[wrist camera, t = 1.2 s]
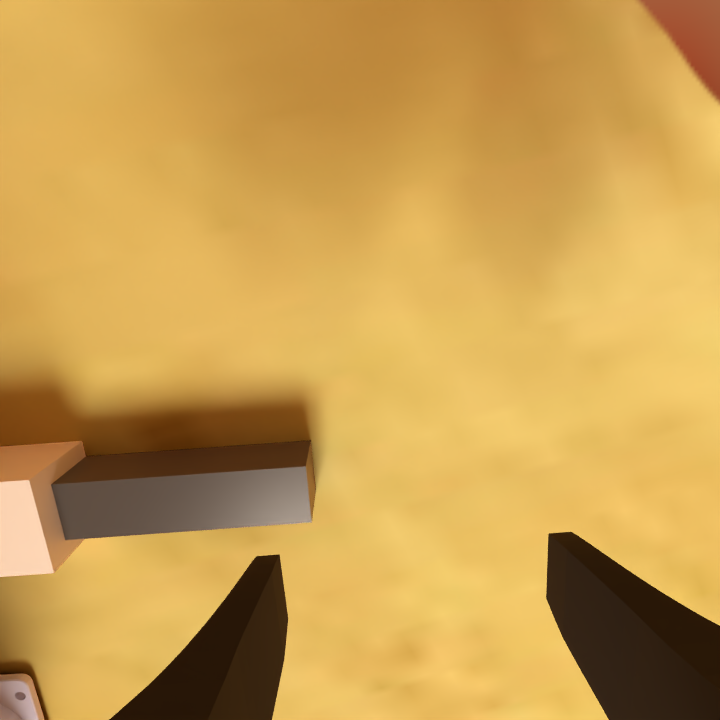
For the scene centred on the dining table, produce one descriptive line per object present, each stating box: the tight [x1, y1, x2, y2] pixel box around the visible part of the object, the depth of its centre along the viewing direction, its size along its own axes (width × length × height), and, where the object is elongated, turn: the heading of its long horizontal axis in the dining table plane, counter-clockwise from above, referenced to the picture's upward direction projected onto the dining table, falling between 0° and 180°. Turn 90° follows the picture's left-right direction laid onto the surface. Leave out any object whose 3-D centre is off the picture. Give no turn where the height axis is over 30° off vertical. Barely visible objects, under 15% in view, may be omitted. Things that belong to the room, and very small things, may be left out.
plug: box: [0, 440, 316, 577], centre depth 19 cm, size 4×14×4 cm, turn 94°
